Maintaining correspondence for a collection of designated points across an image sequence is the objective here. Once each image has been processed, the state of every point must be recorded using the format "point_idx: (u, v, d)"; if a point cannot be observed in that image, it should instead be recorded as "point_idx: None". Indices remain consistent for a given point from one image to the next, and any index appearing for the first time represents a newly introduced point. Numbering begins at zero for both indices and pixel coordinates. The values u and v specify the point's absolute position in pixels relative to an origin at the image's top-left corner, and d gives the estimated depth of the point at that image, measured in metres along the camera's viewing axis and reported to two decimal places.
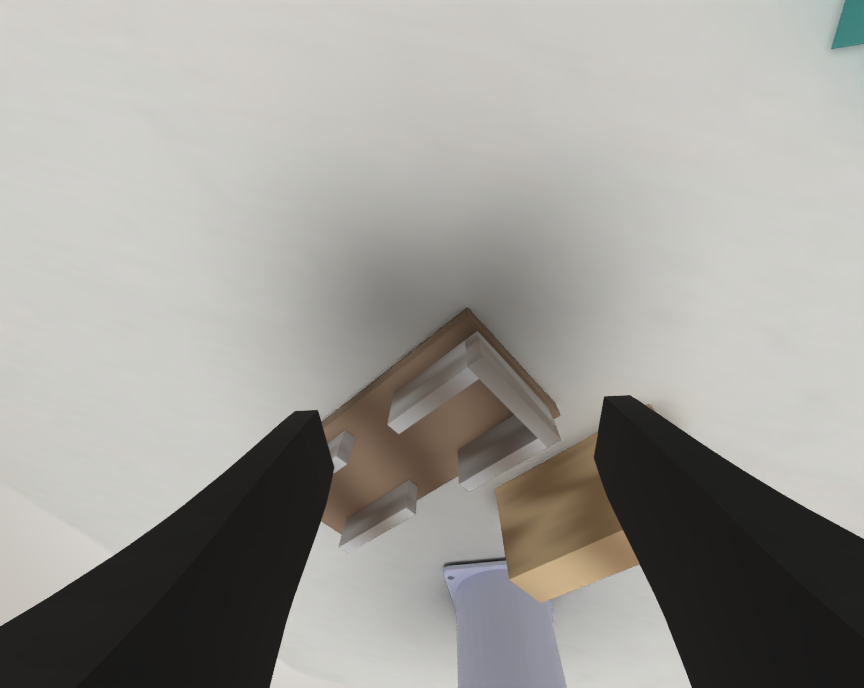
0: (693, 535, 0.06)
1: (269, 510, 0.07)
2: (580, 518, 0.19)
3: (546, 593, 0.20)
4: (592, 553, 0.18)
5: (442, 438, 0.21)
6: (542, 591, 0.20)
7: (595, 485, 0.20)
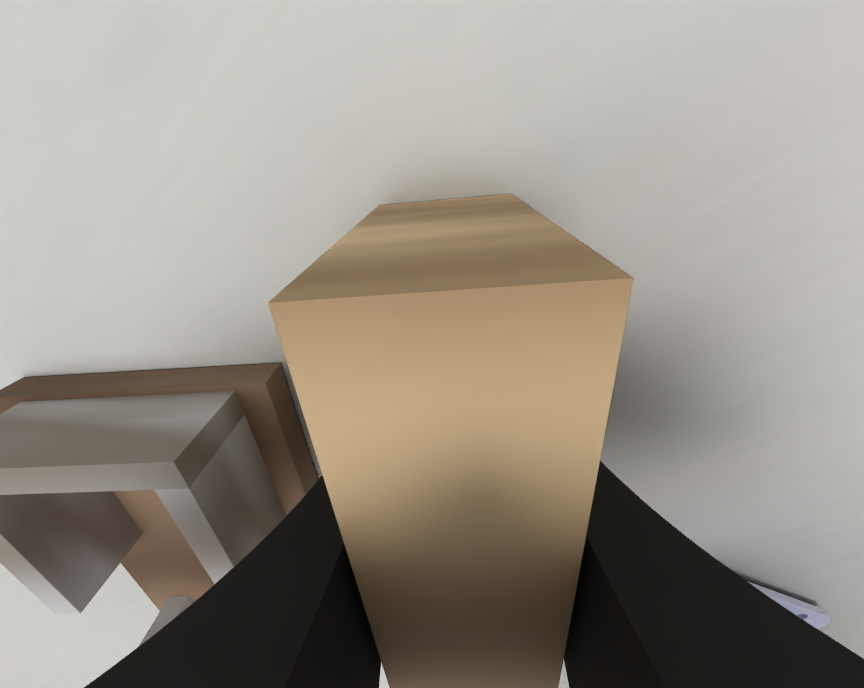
0: None
1: None
2: None
3: None
4: (425, 659, 0.06)
5: None
6: None
7: None
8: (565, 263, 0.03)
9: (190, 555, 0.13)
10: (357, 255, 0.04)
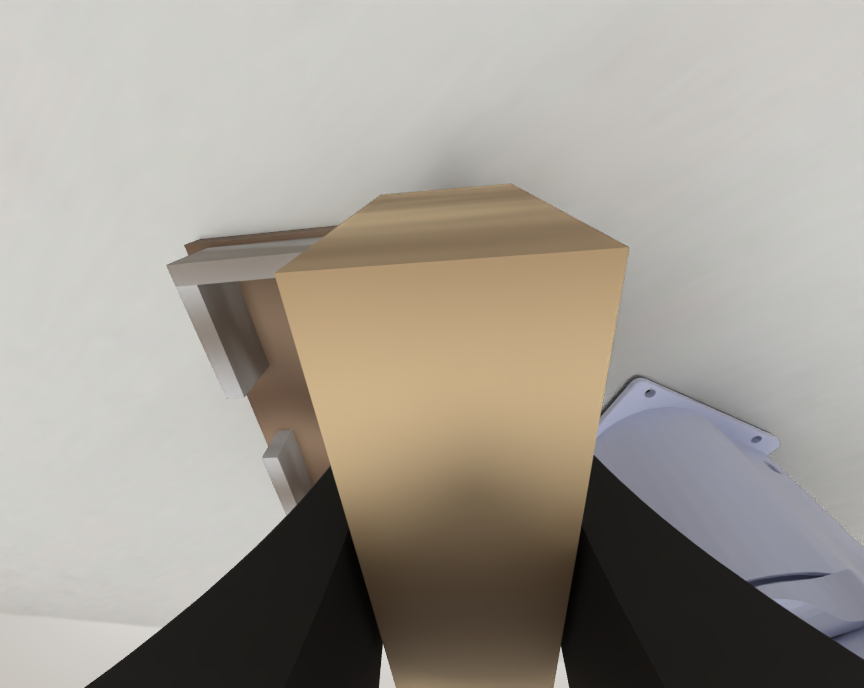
0: None
1: None
2: None
3: None
4: (426, 638, 0.06)
5: None
6: None
7: None
8: (563, 237, 0.03)
9: (300, 386, 0.18)
10: (360, 234, 0.04)
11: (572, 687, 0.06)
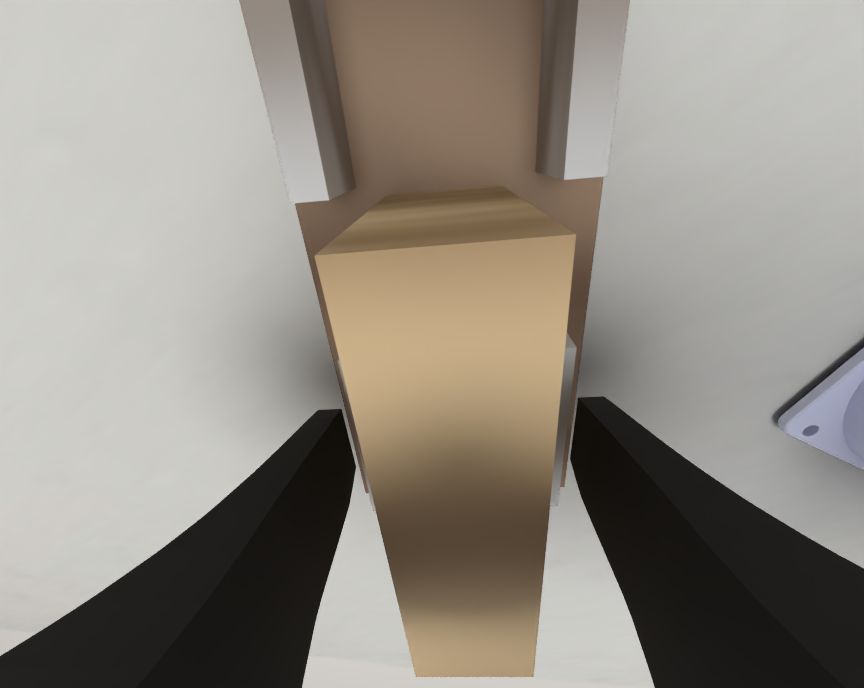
0: (654, 536, 0.06)
1: (300, 509, 0.07)
2: None
3: (510, 662, 0.09)
4: (428, 572, 0.07)
5: (485, 181, 0.09)
6: (496, 663, 0.09)
7: None
8: (531, 228, 0.05)
9: None
10: (374, 228, 0.05)
11: (661, 687, 0.06)
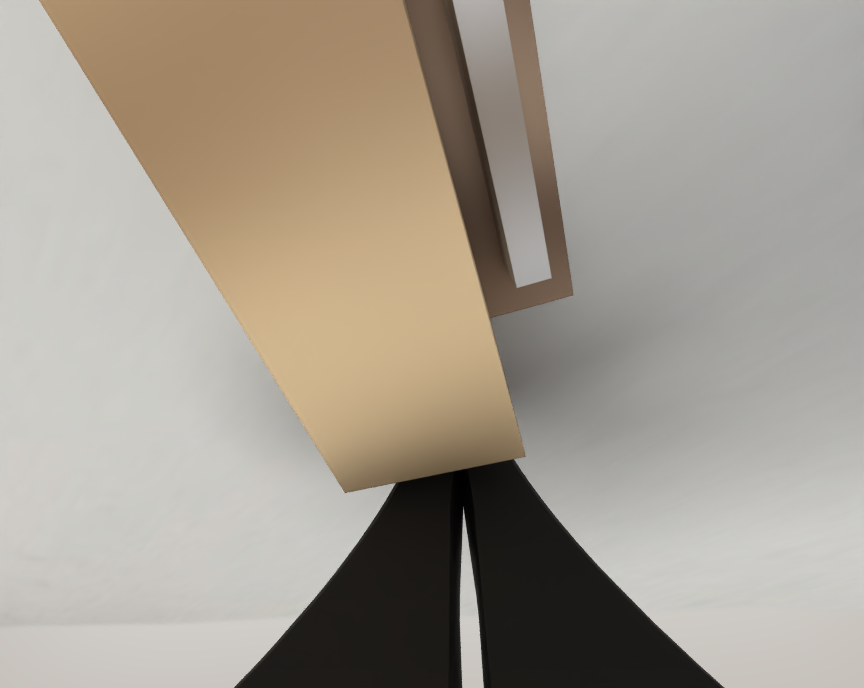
0: (475, 540, 0.06)
1: (454, 505, 0.07)
2: None
3: (474, 427, 0.05)
4: (231, 192, 0.04)
5: None
6: (452, 433, 0.05)
7: None
8: None
9: None
10: None
11: None
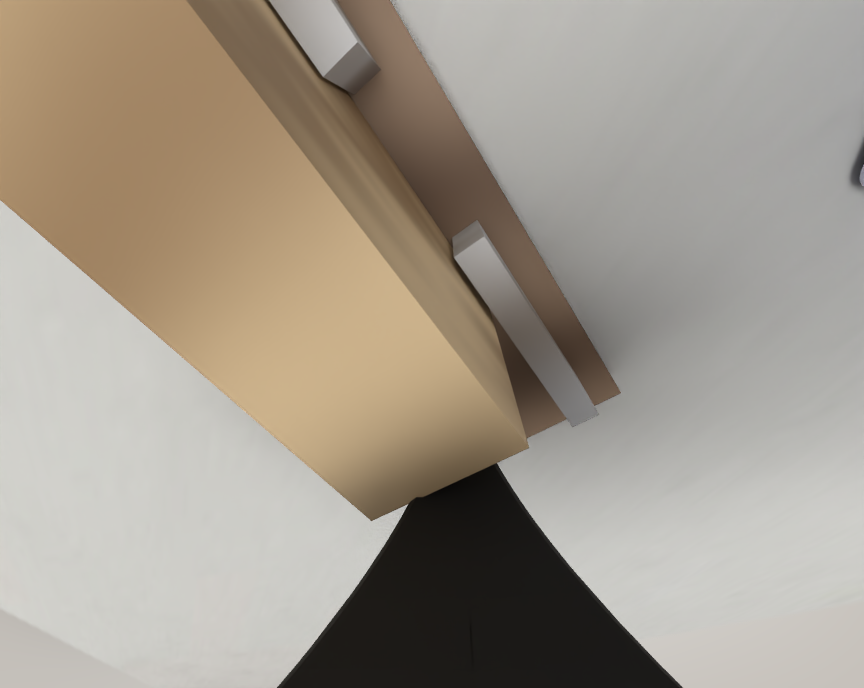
0: None
1: None
2: None
3: (465, 430, 0.05)
4: (172, 282, 0.04)
5: None
6: (447, 442, 0.05)
7: None
8: None
9: None
10: None
11: None
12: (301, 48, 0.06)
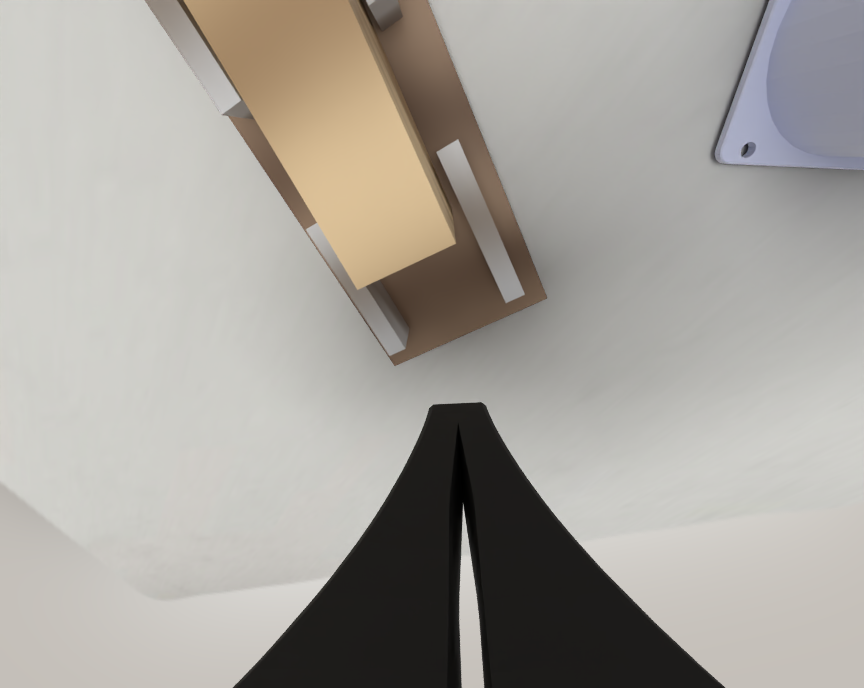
0: (475, 540, 0.06)
1: (454, 505, 0.07)
2: None
3: (421, 225, 0.09)
4: (279, 98, 0.08)
5: None
6: (411, 232, 0.09)
7: None
8: None
9: None
10: None
11: (484, 687, 0.06)
12: None
